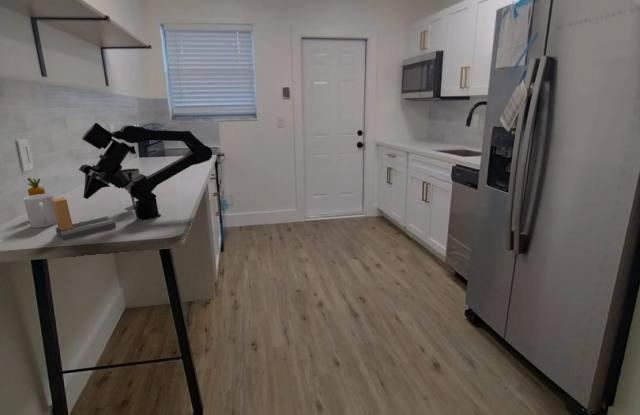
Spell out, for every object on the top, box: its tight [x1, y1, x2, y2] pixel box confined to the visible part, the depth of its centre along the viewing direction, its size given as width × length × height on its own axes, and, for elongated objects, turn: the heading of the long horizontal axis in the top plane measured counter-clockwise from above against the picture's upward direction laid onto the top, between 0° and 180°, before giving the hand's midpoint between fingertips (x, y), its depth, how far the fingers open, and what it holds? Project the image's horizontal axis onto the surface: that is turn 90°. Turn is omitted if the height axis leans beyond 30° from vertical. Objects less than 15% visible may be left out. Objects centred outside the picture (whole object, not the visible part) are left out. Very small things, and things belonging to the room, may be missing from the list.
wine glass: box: [121, 168, 141, 211], centre depth 145 cm, size 8×8×15 cm
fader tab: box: [51, 197, 75, 233], centre depth 115 cm, size 4×5×10 cm
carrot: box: [27, 177, 46, 196], centre depth 138 cm, size 5×5×15 cm
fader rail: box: [55, 215, 117, 241], centre depth 121 cm, size 15×8×3 cm, turn 137°
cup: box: [23, 193, 57, 229], centre depth 127 cm, size 8×12×10 cm
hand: (85, 198), depth 119 cm, fingers closed
